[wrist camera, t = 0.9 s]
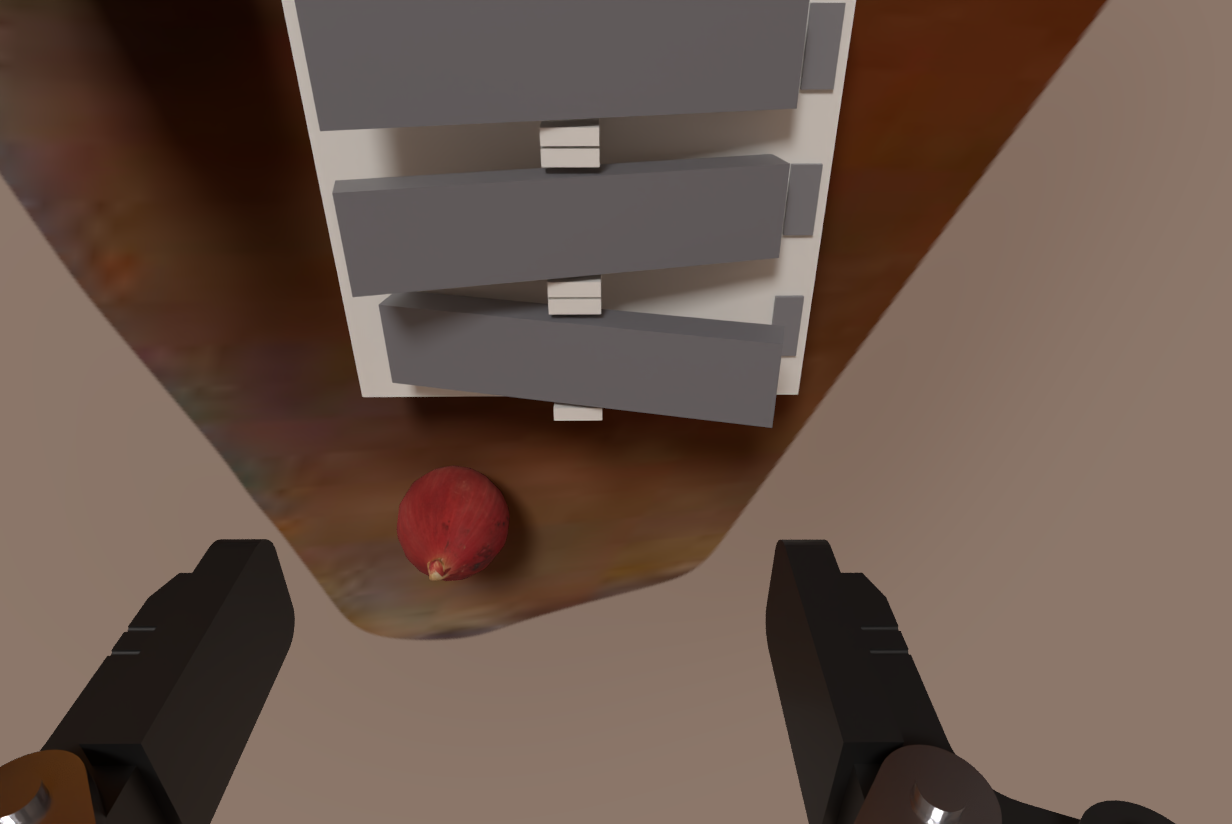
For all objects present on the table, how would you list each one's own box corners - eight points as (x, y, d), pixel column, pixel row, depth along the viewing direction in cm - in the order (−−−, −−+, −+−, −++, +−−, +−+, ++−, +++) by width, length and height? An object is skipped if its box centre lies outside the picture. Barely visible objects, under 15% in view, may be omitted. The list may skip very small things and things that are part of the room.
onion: (534, 468, 43) (520, 566, 36) (485, 533, 45) (464, 636, 39) (442, 420, 41) (410, 514, 34) (396, 491, 44) (358, 591, 37)
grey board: (396, 289, 32) (378, 304, 30) (784, 325, 29) (782, 344, 27) (409, 365, 34) (392, 382, 32) (774, 407, 30) (772, 428, 29)
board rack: (316, -67, 29) (223, -72, 22) (828, -66, 30) (899, -71, 22) (389, 347, 39) (340, 438, 32) (776, 345, 39) (815, 435, 32)
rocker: (335, 180, 26) (332, 193, 24) (771, 153, 29) (790, 163, 28) (354, 280, 27) (352, 297, 26) (762, 244, 31) (779, 257, 29)
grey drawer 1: (299, -5, 23) (293, -2, 21) (789, -11, 26) (810, -8, 25) (323, 121, 25) (320, 131, 23) (777, 101, 28) (796, 108, 27)
